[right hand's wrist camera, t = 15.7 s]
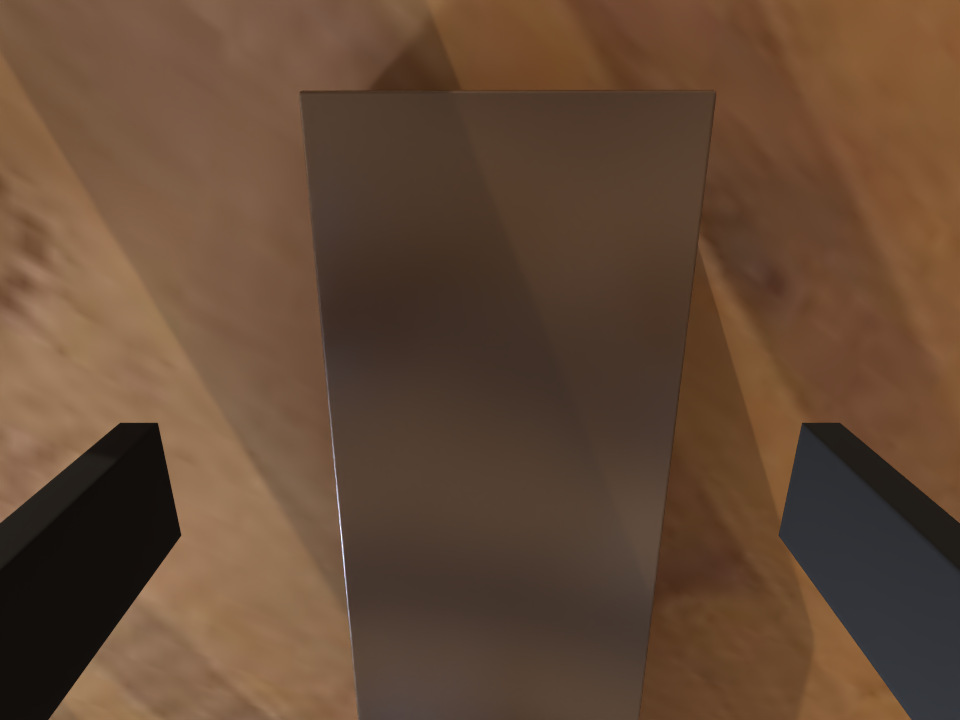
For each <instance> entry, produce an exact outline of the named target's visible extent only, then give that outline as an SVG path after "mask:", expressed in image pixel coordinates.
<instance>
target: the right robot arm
mask: <svg viewBox="0 0 960 720" xmlns="http://www.w3.org/2000/svg"><path fill="white" fill-rule="evenodd" d="M180 537H181V532H180V527H179V522H178V517H177V513H176V508H175V503H174V498H173V493H172V489H171V484H170V479H169V474H168V469H167V465H166V460H165V455H164V450H163V445H162V441H161V436H160V431H159V426H158V423H120V424H118V425H117V426H116V427H115V428H114V429H112V430H111V431H110V432H109V433H108V434H106V435H105V436H104V437H103V438H102V439H100V440H99V441H98V442H97V443H96V444H94V445H93V446H92V447H91V448H90V449H88V450H87V451H86V452H85V453H84V454H83V455H81V456H80V457H79V458H78V459H77V460H75V461H74V462H73V463H72V464H71V465H69V466H68V467H67V468H66V469H65V470H63V471H62V472H61V473H60V474H59V475H57V476H56V477H55V478H54V479H53V480H51V481H50V482H49V483H48V484H47V485H45V486H44V487H43V488H42V489H41V490H40V491H38V492H37V493H36V494H35V495H34V496H32V497H31V498H30V499H29V500H28V501H26V502H25V503H24V504H23V505H22V506H20V507H19V508H18V509H17V510H16V511H14V512H13V513H12V514H11V515H10V516H8V517H7V518H6V519H5V520H4V521H3V522H1V523H0V720H48V719H49V718H50V717H51V715H52V714H53V713H54V711H55V710H56V708H57V707H58V706H59V704H60V703H61V701H62V700H63V699H64V697H65V696H66V695H67V693H68V692H69V690H70V689H71V688H72V686H73V685H74V683H75V682H76V681H77V679H78V678H79V677H80V675H81V674H82V672H83V671H84V670H85V668H86V667H87V665H88V664H89V663H90V661H91V660H92V658H93V657H94V656H95V654H96V653H97V652H98V650H99V649H100V647H101V646H102V645H103V643H104V642H105V640H106V639H107V638H108V636H109V635H110V634H111V632H112V631H113V629H114V628H115V627H116V625H117V624H118V622H119V621H120V620H121V618H122V617H123V616H124V614H125V613H126V611H127V610H128V609H129V607H130V606H131V604H132V603H133V602H134V600H135V599H136V598H137V596H138V595H139V593H140V592H141V591H142V589H143V588H144V586H145V585H146V584H147V582H148V581H149V580H150V578H151V577H152V575H153V574H154V573H155V571H156V570H157V568H158V567H159V566H160V564H161V563H162V561H163V560H164V559H165V557H166V556H167V555H168V553H169V552H170V550H171V549H172V548H173V546H174V545H175V543H176V542H177V541H178V539H179V538H180ZM779 537H780V538H781V539H782V541H783V542H784V543H785V545H786V546H787V548H788V549H789V550H790V552H791V553H792V555H793V556H794V557H795V559H796V560H797V561H798V563H799V564H800V566H801V567H802V568H803V570H804V571H805V573H806V574H807V575H808V577H809V578H810V580H811V581H812V582H813V584H814V585H815V586H816V588H817V589H818V591H819V592H820V593H821V595H822V596H823V598H824V599H825V600H826V602H827V603H828V604H829V606H830V607H831V609H832V610H833V611H834V613H835V614H836V616H837V617H838V618H839V620H840V621H841V622H842V624H843V625H844V627H845V628H846V629H847V631H848V632H849V634H850V635H851V636H852V638H853V639H854V640H855V642H856V643H857V645H858V646H859V647H860V649H861V650H862V652H863V653H864V654H865V656H866V657H867V658H868V660H869V661H870V663H871V664H872V665H873V667H874V668H875V670H876V671H877V672H878V674H879V675H880V677H881V678H882V679H883V681H884V682H885V683H886V685H887V686H888V688H889V689H890V690H891V692H892V693H893V695H894V696H895V697H896V699H897V700H898V701H899V703H900V704H901V706H902V707H903V708H904V710H905V711H906V713H907V714H908V715H909V717H910V718H911V719H912V720H960V523H959V522H957V521H956V520H955V519H954V518H953V517H951V516H950V515H949V514H948V513H947V512H946V511H944V510H943V509H942V508H941V507H940V506H938V505H937V504H936V503H935V502H934V501H932V500H931V499H930V498H929V497H928V496H926V495H925V494H924V493H923V492H922V491H920V490H919V489H918V488H917V487H916V486H914V485H913V484H912V483H911V482H910V481H909V480H907V479H906V478H905V477H904V476H903V475H901V474H900V473H899V472H898V471H897V470H895V469H894V468H893V467H892V466H891V465H889V464H888V463H887V462H886V461H885V460H883V459H882V458H881V457H880V456H879V455H877V454H876V453H875V452H874V451H873V450H872V449H870V448H869V447H868V446H867V445H866V444H864V443H863V442H862V441H861V440H860V439H858V438H857V437H856V436H855V435H854V434H852V433H851V432H850V431H849V430H848V429H846V428H845V427H844V426H843V425H842V424H840V423H802V426H801V431H800V436H799V441H798V445H797V450H796V455H795V460H794V465H793V469H792V474H791V479H790V484H789V489H788V493H787V498H786V503H785V508H784V513H783V517H782V522H781V527H780V532H779Z"/></svg>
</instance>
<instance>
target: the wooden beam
mask: <svg viewBox="0 0 960 720" xmlns="http://www.w3.org/2000/svg"><path fill="white" fill-rule="evenodd" d="M299 100H300V111H301V121H302V132H303V142H304V153H305V163H306V174H307V185H308V195H309V206H310V216H311V227H312V237H313V248H314V258H315V269H316V280H317V290H318V301H319V311H320V322H321V332H322V343H323V353H324V364H325V375H326V385H327V396H328V406H329V417H330V427H331V438H332V448H333V459H334V470H335V480H336V491H337V501H338V512H339V522H340V533H341V544H342V554H343V565H344V575H345V586H346V596H347V607H348V617H349V628H350V639H351V649H352V660H353V670H354V681H355V691H356V702H357V712H358V720H639V715H640V706H641V698H642V690H643V682H644V674H645V666H646V658H647V650H648V642H649V634H650V626H651V618H652V610H653V601H654V593H655V585H656V577H657V569H658V561H659V553H660V545H661V537H662V529H663V521H664V513H665V505H666V496H667V488H668V480H669V472H670V464H671V456H672V448H673V440H674V432H675V424H676V416H677V408H678V400H679V391H680V383H681V375H682V367H683V359H684V351H685V343H686V335H687V327H688V319H689V311H690V303H691V295H692V286H693V278H694V270H695V262H696V254H697V246H698V238H699V230H700V222H701V214H702V206H703V198H704V190H705V181H706V173H707V165H708V157H709V149H710V141H711V133H712V125H713V117H714V109H715V101H716V91H714V90H422V91H301V92H300V93H299Z"/></svg>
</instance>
